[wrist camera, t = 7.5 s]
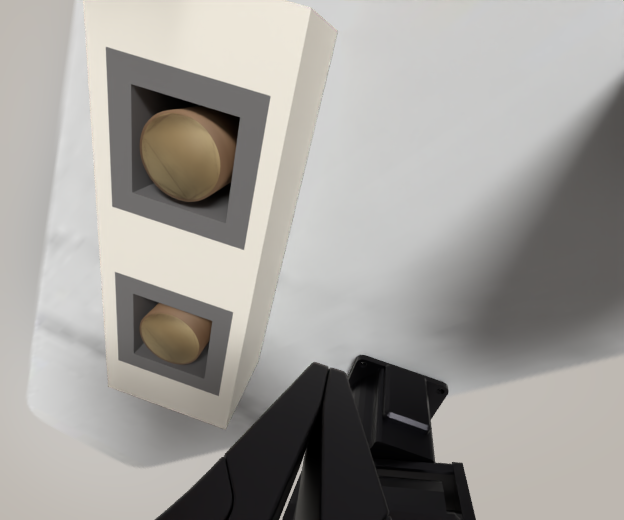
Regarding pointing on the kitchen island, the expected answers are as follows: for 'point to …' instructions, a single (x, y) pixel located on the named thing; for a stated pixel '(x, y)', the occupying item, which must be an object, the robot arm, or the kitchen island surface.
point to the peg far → (175, 334)
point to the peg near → (190, 151)
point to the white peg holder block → (215, 208)
